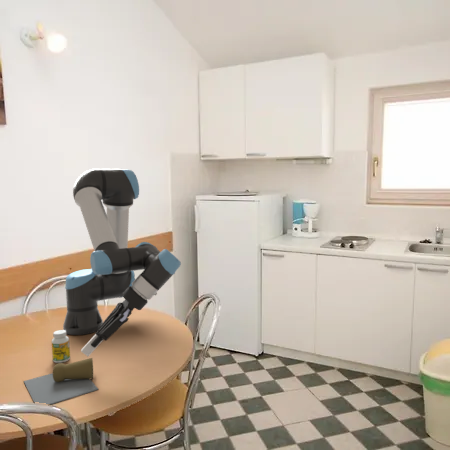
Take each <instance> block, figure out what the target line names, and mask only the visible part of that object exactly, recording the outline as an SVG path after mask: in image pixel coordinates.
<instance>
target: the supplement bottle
mask: <svg viewBox="0 0 450 450" xmlns="http://www.w3.org/2000/svg"><path fill="white" fill-rule="evenodd" d="M52 335H53V338H52V339H51V355H52V362H54V363H56V364H59V363H65V362H68V361H69V360H70V359H71V350H70V348H71V347H70V338H69V336H67V334H66V330H63V329H60V330H55V331H53V334H52Z"/></svg>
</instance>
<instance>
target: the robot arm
mask: <svg viewBox="0 0 450 450" xmlns="http://www.w3.org/2000/svg"><path fill="white" fill-rule="evenodd" d="M137 177H138V176H137V175H136V173H135V172H134V171H133V170H132V169H123V168H92V169H89V170H86V171H84V172H83V173H82V174H80V176H78V178H77V179H76V181H75V183H74V185H73V189H72V194H73V195H72V196H73V199H74V203H75V204H76V205H77V206H78V207H79V209H80V211H81V214H82V217H83V221H84V222H85V223H84V224H85V226H86V230H87V232H88V235H89V236H88V237H89V239H90V241H91V244H92V247H93V251H92V252H91V253H90V257H89V262H90V268H88V269H87V268H86V269H80V270H76V271H73V272H71V273H69V274H68V275H66V278H65V286H64V288H65V296H66V297H65V298H66V314H65V318H64V321H63V326H62V327H63V329H62V330H66V335H72V336H81V335H88V334H89V335H90V334H93V333H94V335H93V336H92V337H91V338H90V340H88V342H87V343H86V344H85V345H84V346H83V347H82V348H81V349H80V352H81V353H82V354H84V355H85V356H87V357H90V355H91V354H92V353H93V352H94V351H95V350H96V349H97V348H98V346H99V345H101V343H103V342H104V341H107V340H108V339H109V338H110V337H111V336H113V335H114V333H116V332H117V331H118V330H119V329H120V328H121V327H122V326H123V325H124V324H125V323H127V322H129V320H130V319H129V317H130V316H131V315H132V313H133V310H134V309H136V310H137V311H141V310H142V309H143V308H144V307H145V306H146V305H147V304H148V301H149V300H151V299H152V298H153V297H154V296H157V295H158V291H159V290H160V289H161V288H162V287H163V286H164V285H165V284H166V283H167V282H168V281H169V280H170V279H171V277H173V276H174V275H175V274H176V272H177V270H178V269H179V268H180V267H181V264H182V263H181V261H180V259H178V258H177V257H176V256H175V255H174V254H173V253H172V252H171V251H170V250H168V249H167V248H164V249H162V250H161V251H160V250H159V249H158V247H156V246H155V245H154V244H152V243H150V242H147V241H141V242H140V243H138V244H137V245H136V246H135V247H134V246H133V247H128V244H129V219H130V218H129V216H130V215H129V213H130V208H131V207H132V206H133V205H134V200H136V199H138V198H139V195H140V185H139V180H138V178H137ZM104 206H105V207H106V210H105V207H104ZM141 270H143V271H142V272H141V273H140V274H139V275H138V276H137V277H136V278H135V271H141ZM118 298H119V299H121V298H123V299H124V300H123V301H121V302H118V303H117V304H116V306H115V307H114V308H113V310H112V311H111V312H110V313H109V314H108V315H107V317H106V318H105V320H103V318H102V315H101V313H100V309H99V308H98V302H99V301H100V302H101V301H106V300H111V299H118Z"/></svg>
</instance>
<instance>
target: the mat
mask: <svg viewBox="0 0 450 450" xmlns="http://www.w3.org/2000/svg"><path fill="white" fill-rule="evenodd" d="M23 383H24V385H25V387H26V389H27V391H28V393H29V395H30V397H31V399H32V401H33V403H34V402H39V403H46V404H51V405H53V404H57V403H61V402H64V401H67V400H71V399H73V398H76V397H80V396H83V395H85V394H90V393H92V392H95V391H98V390H99V388H98V387H97V385H96V384H95V383H94V382H93V380H92V379H65V380H63V381H61V382H55V381H54V379H53V372H52V373H48V374H45V375H41V376H38V377H33V378H30V379H26V380H23Z"/></svg>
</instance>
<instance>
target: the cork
mask: <svg viewBox="0 0 450 450" xmlns="http://www.w3.org/2000/svg"><path fill="white" fill-rule="evenodd" d="M52 373H53V379H54V381H55V382H61V381H63V380H65V379H90V380H93V379H94V361H93V357H90V358H86V359H85V358H84V359H81V360H78V361H74V362H70V363H67V364H65V363H64V362H62V363H56V364H55V365H54V366H53V369H52Z"/></svg>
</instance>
